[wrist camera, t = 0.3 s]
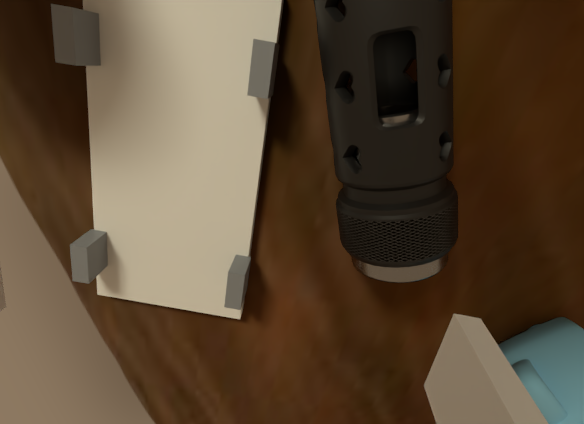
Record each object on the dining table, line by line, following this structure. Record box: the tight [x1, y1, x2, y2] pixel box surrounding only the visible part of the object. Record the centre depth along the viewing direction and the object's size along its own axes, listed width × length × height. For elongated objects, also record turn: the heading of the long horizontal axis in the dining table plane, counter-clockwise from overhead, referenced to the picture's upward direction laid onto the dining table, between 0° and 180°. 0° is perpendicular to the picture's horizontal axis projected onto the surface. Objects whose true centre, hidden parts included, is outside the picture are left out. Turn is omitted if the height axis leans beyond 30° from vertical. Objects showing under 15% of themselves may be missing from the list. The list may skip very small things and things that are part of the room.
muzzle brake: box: [314, 0, 458, 283], centre depth 28 cm, size 10×28×10 cm, turn 9°
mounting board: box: [51, 0, 284, 319], centre depth 34 cm, size 32×17×5 cm, turn 171°
